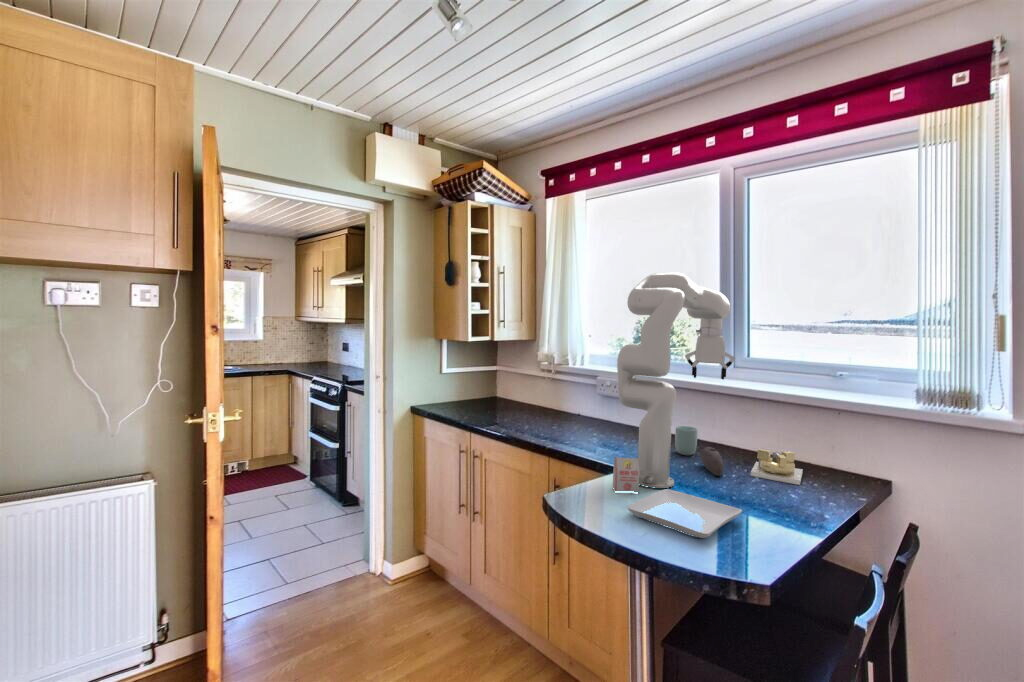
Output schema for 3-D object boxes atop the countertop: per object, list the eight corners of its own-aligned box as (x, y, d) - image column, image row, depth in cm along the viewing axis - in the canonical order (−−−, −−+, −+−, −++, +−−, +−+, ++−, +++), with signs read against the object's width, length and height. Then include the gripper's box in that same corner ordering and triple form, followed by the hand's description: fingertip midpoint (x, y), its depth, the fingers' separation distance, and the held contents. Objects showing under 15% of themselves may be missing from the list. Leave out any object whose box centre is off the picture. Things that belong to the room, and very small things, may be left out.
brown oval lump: (727, 479, 155) (728, 458, 155) (710, 478, 156) (711, 457, 155) (715, 465, 170) (716, 446, 169) (699, 464, 170) (700, 445, 170)
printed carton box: (612, 489, 143) (613, 455, 143) (635, 489, 143) (636, 456, 142) (614, 493, 139) (616, 459, 139) (638, 494, 139) (639, 460, 139)
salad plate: (624, 518, 123) (624, 505, 123) (665, 498, 138) (666, 486, 137) (706, 548, 108) (707, 533, 107) (743, 522, 122) (743, 509, 122)
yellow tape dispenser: (793, 476, 153) (794, 459, 153) (754, 470, 159) (755, 453, 159) (795, 468, 163) (796, 452, 162) (758, 462, 169) (759, 446, 168)
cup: (699, 457, 179) (700, 430, 179) (678, 456, 179) (679, 430, 179) (692, 451, 187) (693, 426, 186) (671, 450, 187) (673, 425, 187)
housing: (800, 485, 151) (801, 463, 151) (750, 475, 159) (751, 454, 159) (802, 473, 163) (803, 453, 163) (756, 465, 171) (757, 446, 170)
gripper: (686, 332, 179) (684, 378, 180) (737, 333, 174) (735, 381, 175) (685, 331, 186) (683, 375, 187) (734, 333, 181) (732, 378, 182)
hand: (708, 378), depth 181 cm, fingers open, 9 cm apart
